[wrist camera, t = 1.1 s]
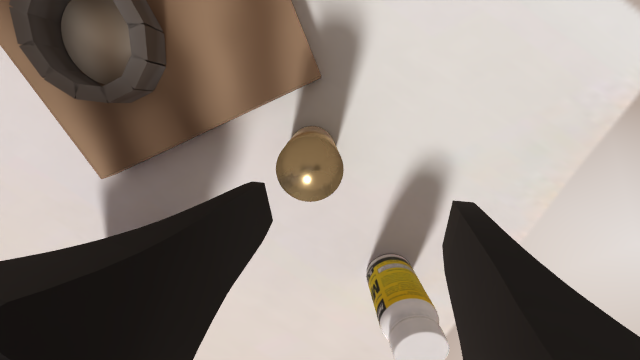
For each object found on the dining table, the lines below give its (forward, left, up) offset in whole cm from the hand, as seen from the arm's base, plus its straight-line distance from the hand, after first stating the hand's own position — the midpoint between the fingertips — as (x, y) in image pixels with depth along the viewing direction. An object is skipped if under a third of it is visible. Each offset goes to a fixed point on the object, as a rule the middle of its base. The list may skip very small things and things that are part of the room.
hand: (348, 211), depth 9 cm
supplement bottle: (+1, -14, -12) cm, 19 cm away
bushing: (-1, +1, -12) cm, 12 cm away
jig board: (-8, +13, -12) cm, 20 cm away
